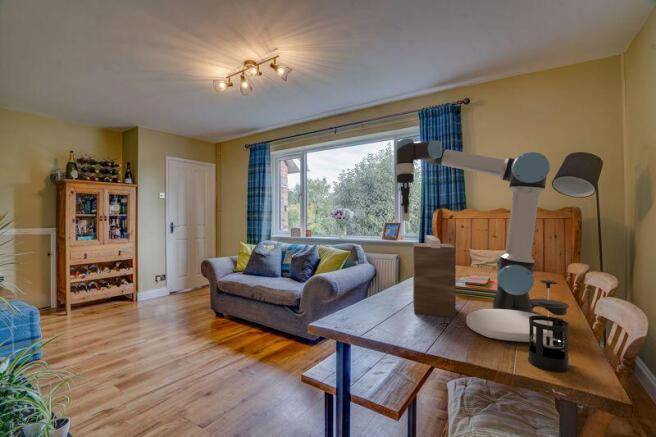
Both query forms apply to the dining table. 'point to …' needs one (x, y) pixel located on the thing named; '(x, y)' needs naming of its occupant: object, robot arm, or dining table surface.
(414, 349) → the dining table surface
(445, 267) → the walnut stand
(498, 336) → the plate
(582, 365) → the dining table surface
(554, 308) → the french press
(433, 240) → the metal bar
